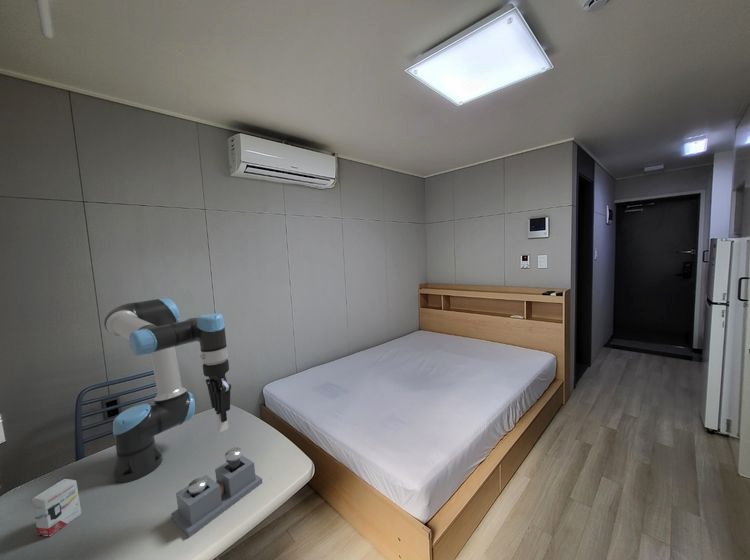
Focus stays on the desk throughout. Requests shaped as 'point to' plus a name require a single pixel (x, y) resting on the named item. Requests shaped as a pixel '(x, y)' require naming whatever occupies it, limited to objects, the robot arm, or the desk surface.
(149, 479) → the desk surface
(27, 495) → the desk surface
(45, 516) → the ink box
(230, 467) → the knob
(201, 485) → the knob
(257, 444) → the desk surface
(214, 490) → the mount
